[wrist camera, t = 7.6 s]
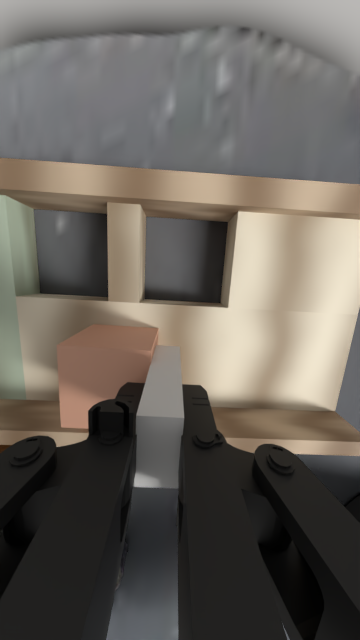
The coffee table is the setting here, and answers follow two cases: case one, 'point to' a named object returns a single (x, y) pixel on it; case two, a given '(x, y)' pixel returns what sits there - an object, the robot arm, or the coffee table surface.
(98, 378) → the terracotta block
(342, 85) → the coffee table surface
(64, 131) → the coffee table surface
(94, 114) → the coffee table surface
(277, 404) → the box
